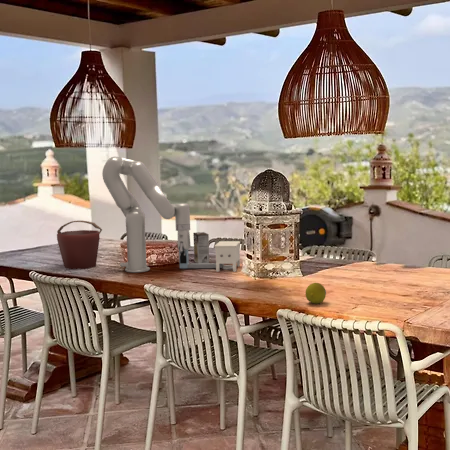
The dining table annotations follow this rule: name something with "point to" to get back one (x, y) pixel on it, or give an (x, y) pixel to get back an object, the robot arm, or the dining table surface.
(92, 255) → the bucket
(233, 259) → the cabinet
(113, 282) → the dining table surface
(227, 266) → the steel token
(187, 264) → the blue-grey u-shaped bracket
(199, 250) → the coffee box
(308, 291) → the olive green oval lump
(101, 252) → the dining table surface
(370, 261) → the dining table surface
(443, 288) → the dining table surface
